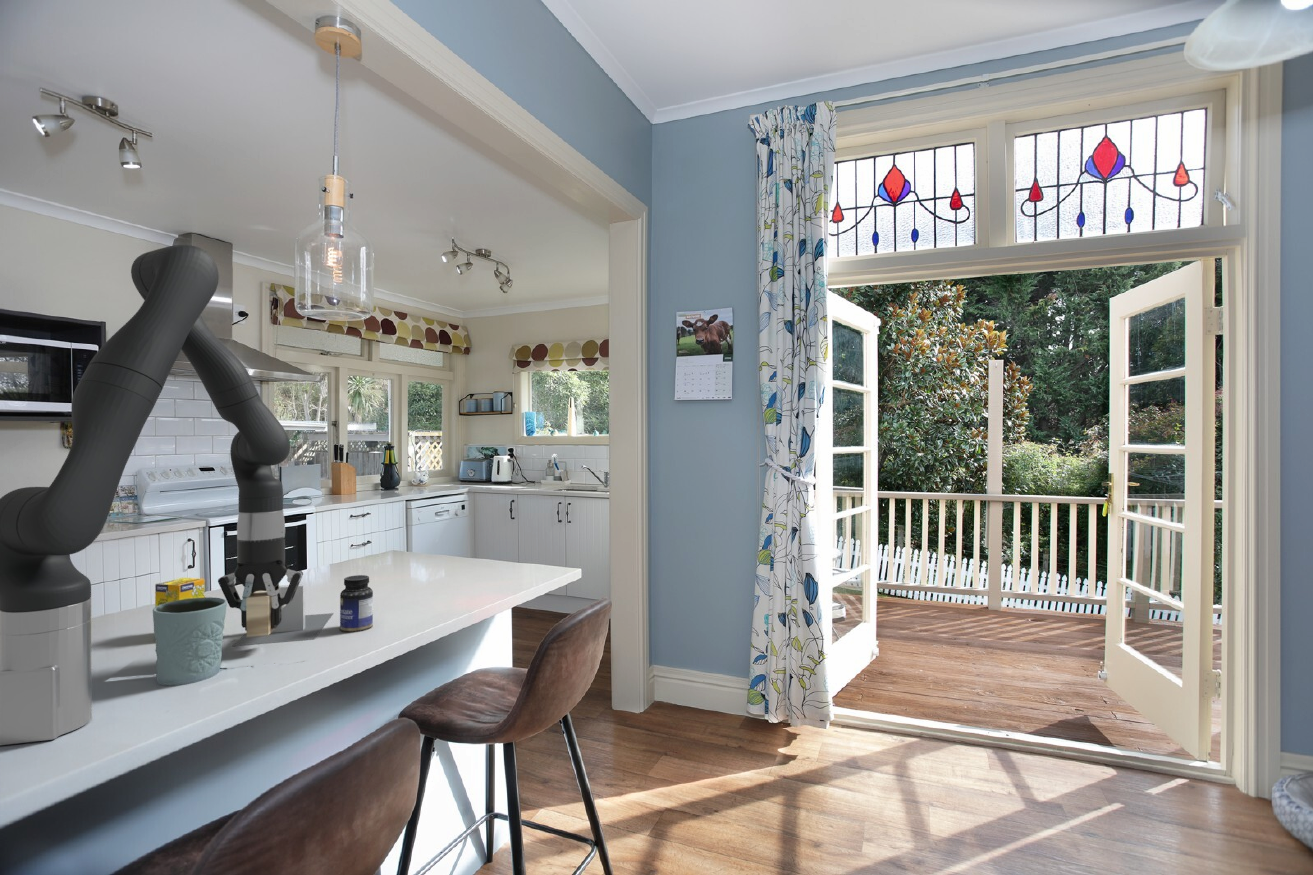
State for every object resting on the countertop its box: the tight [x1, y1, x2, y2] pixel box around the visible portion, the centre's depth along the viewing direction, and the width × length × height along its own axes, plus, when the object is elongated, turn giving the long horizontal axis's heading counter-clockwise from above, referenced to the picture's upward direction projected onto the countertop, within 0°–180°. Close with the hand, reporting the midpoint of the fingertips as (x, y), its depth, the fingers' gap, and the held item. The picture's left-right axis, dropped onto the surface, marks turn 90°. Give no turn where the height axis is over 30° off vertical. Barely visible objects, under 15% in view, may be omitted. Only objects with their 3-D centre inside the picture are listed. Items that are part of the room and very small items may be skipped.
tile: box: [259, 583, 306, 633], centre depth 130 cm, size 2×9×9 cm, turn 107°
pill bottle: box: [339, 574, 374, 634], centre depth 132 cm, size 6×6×11 cm
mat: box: [232, 612, 334, 647], centre depth 132 cm, size 19×14×1 cm
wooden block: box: [246, 591, 287, 637], centre depth 122 cm, size 13×4×7 cm, turn 16°
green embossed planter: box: [152, 596, 228, 686], centre depth 108 cm, size 10×10×12 cm
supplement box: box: [154, 577, 206, 608], centre depth 129 cm, size 6×6×11 cm
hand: (261, 628), depth 118 cm, fingers closed on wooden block, 3 cm apart
